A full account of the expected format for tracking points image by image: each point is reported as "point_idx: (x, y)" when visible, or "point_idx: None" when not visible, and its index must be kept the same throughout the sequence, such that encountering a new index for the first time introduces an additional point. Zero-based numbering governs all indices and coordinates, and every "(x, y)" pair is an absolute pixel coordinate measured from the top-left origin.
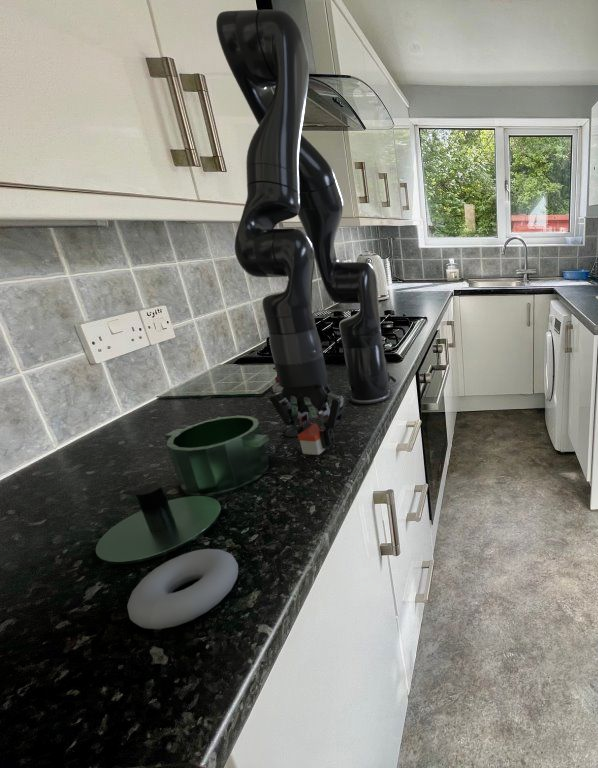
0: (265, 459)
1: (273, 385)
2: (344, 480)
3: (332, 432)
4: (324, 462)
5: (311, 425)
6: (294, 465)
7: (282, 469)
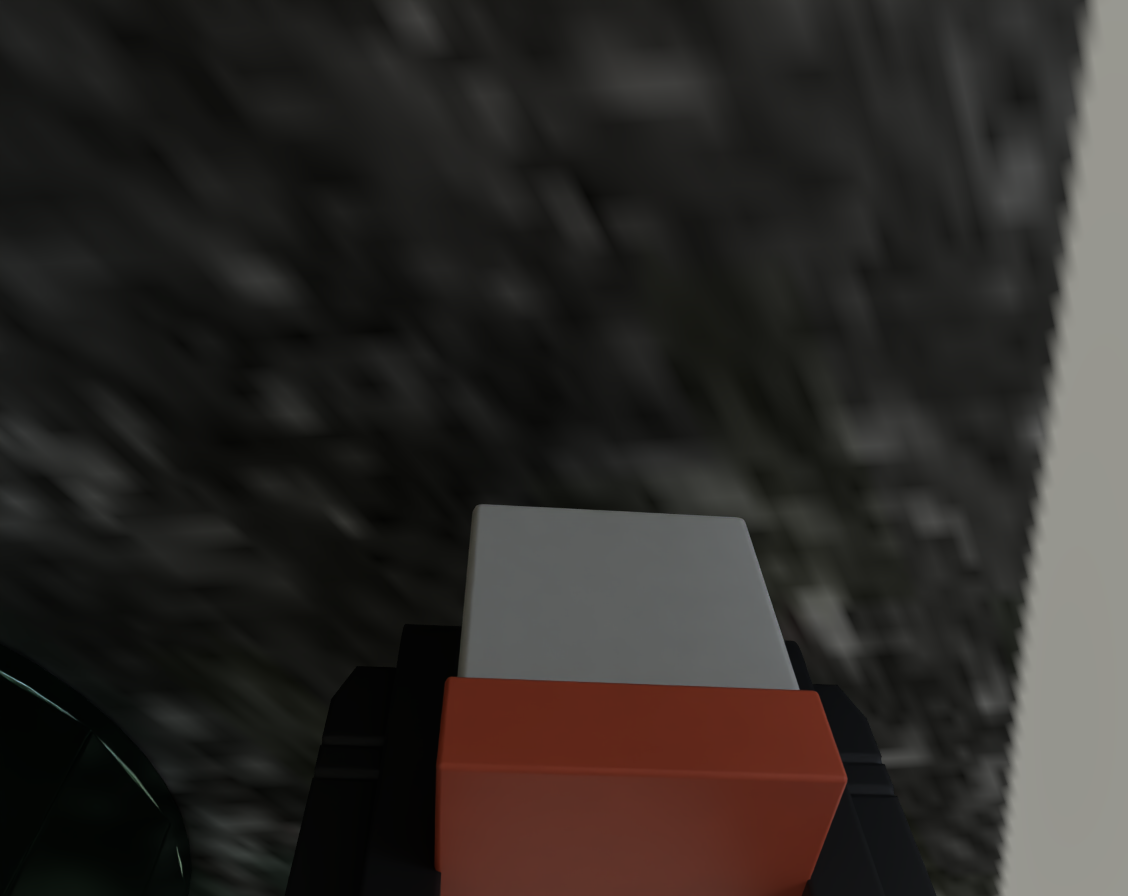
0: (87, 846)
1: None
2: (983, 806)
3: (910, 852)
4: None
5: (444, 854)
6: (352, 663)
7: (282, 725)
